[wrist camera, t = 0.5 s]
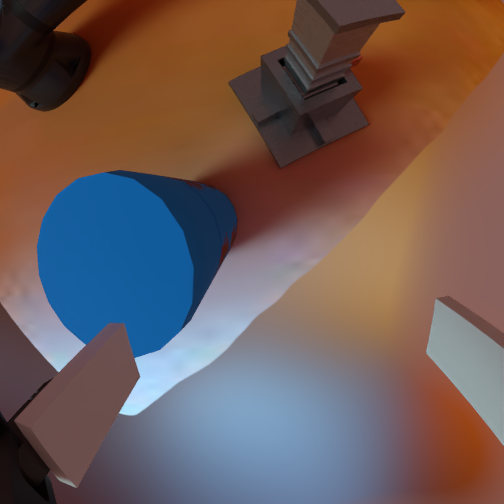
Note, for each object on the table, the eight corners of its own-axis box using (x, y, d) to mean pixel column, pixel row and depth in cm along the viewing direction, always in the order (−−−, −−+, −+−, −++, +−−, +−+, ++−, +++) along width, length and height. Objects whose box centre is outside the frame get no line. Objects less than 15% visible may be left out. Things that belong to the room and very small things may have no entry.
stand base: (229, 84, 34) (214, 39, 21) (314, 47, 32) (333, -3, 20) (280, 168, 36) (290, 155, 24) (366, 125, 35) (409, 100, 22)
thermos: (248, 195, 37) (223, 196, 13) (227, 271, 39) (179, 384, 15) (171, 175, 37) (47, 157, 12) (154, 249, 39) (35, 320, 15)
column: (273, 89, 32) (287, -29, 10) (307, 75, 32) (354, -40, 9) (294, 122, 33) (339, 26, 11) (328, 106, 33) (405, 12, 10)
